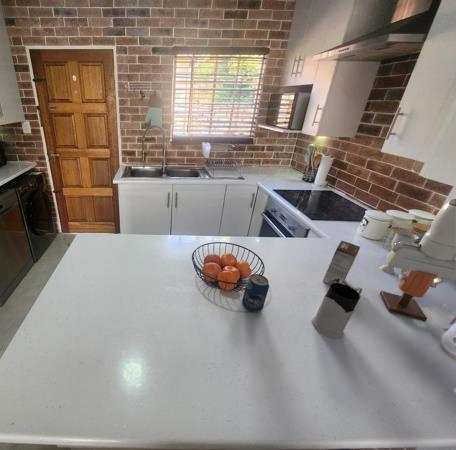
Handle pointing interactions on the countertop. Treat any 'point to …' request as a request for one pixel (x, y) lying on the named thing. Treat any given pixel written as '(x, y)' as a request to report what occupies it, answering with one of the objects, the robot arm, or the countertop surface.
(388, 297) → the stand
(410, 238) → the chalice
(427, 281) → the cup
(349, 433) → the countertop surface
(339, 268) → the coffee box
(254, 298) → the soda can
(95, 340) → the countertop surface
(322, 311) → the glass holder
